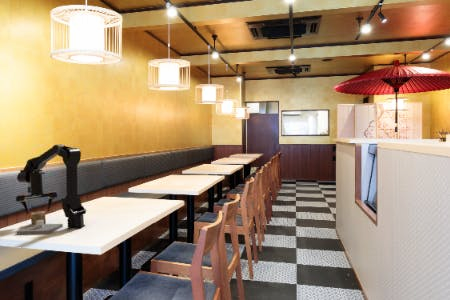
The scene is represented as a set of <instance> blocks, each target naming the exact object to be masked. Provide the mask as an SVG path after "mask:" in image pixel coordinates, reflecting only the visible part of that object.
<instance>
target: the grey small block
mask: <svg viewBox="0 0 450 300" xmlns="http://www.w3.org/2000/svg"><path fill="white" fill-rule="evenodd" d="M43 227H44V220H37V221H36V228H43Z"/></svg>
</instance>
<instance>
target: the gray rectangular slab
mask: <svg viewBox="0 0 450 300" xmlns="http://www.w3.org/2000/svg"><path fill="white" fill-rule="evenodd" d="M63 226H64V224H63V223H51V224H50V223H46V224H44V227H43V228H36V224H34V225H31V224H30V225H28V226H25V227H23V228H21V229H19V230H16V235H43V234H44V235H46V234H48V235H49V234H52V233H54V232H56V231H58V230H59V229H62V228H63Z"/></svg>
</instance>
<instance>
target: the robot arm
mask: <svg viewBox="0 0 450 300" xmlns="http://www.w3.org/2000/svg"><path fill="white" fill-rule="evenodd" d="M57 156H59V157H61V158H62V162H63V164H64V165H65V166H66V167H65V170H66V171H65V175H66V177H65V178H66V180H65V181H66V185H65V186H66V196H65V197H64V198H61V207H62V211H63V213H64V216H65V218H67V228H66V229H67V230H81V229H83V228H84V227H85V226H86V224H85V223H84V222H85V220H84V215H85V214H86V213H87V209H86V208H85V206H84V205H83V204H82V199H81V198H80V196H79V194H78V165H79V164H80V161H81V156H82V152H81V150H80V149H79V148H76V147H71V146H67V145H64V144H54V145H53V146H52V147H51V148H49V149H47V150H46V151H45V152H43V153H42V154H40V155H39V156H36V157H33V158H29V159H27V160H26V164H25V166H24V168H23V169H20V170H19V171H20V172H19V173H18V174H17V175H16V180H17V181H18V182H19V183H26V184H27V183H29V186H27V193H28V194H26V193H24V194H23V193H21V194H16V196H15V202H19V204H22V206H23V207H24V209H25V211H26V213H27V214H28V215H29V214H30V213H29V207H28V202H27V201H28V199H29V200H30V199H39V198H47V212H50V208H51V204H52V202H53V200H55V199H56V198H58V191H56V190H53V191H51V190H50V191H48V192H46V193H44V183H43V182H44V181H43V175H44V174H46V172H45V171H44V170H43V168H45V166H46V165H47V163H48V162H49V161H51V160H52V159H54V158H55V157H57Z"/></svg>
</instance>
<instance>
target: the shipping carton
mask: <svg viewBox="0 0 450 300" xmlns="http://www.w3.org/2000/svg"><path fill="white" fill-rule="evenodd" d="M37 220H44V224H47V223H46V221H47V220H46V211H45V210H43V211H36V212H31V214H30V222H31V223H30V225H34V224H36V221H37Z"/></svg>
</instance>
